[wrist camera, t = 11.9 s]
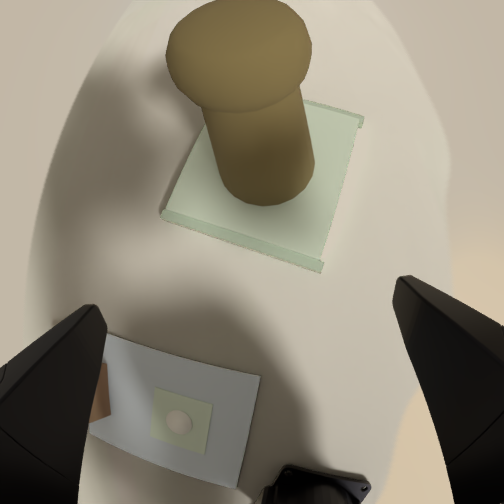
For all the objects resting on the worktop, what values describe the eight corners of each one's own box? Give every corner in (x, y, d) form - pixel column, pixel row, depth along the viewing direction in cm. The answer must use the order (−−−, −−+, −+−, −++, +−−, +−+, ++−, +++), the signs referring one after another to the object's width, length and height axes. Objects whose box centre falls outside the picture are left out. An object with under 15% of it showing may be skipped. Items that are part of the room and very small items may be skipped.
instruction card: (260, 375, 16) (259, 377, 16) (236, 487, 15) (235, 490, 15) (96, 329, 18) (93, 329, 18) (90, 432, 17) (88, 433, 17)
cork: (202, 152, 18) (123, 27, 8) (280, 108, 18) (259, -32, 8) (249, 225, 17) (177, 109, 6) (334, 173, 17) (365, 26, 6)
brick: (107, 363, 18) (78, 368, 15) (111, 414, 17) (83, 425, 14) (71, 354, 18) (43, 356, 16) (75, 401, 18) (48, 408, 15)
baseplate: (362, 122, 18) (365, 114, 17) (320, 273, 17) (321, 271, 16) (226, 90, 20) (223, 82, 19) (164, 220, 19) (157, 216, 18)
